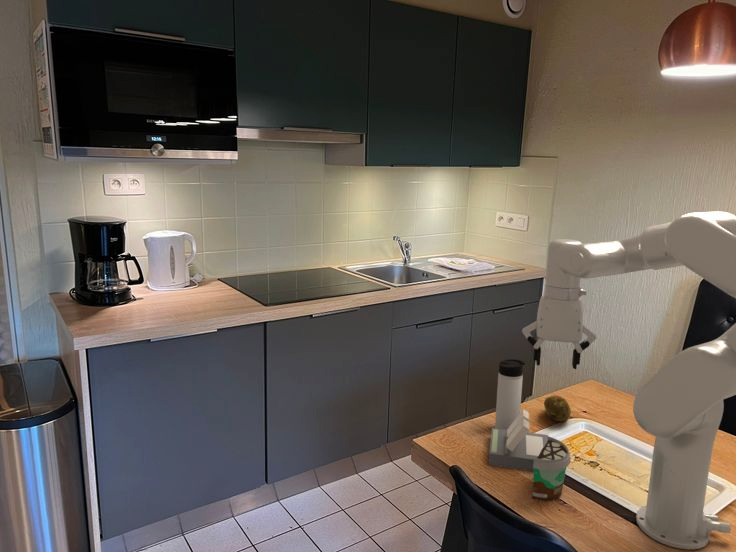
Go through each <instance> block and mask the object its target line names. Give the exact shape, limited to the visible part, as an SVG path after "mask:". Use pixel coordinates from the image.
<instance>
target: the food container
mask: <svg viewBox="0 0 736 552" xmlns="http://www.w3.org/2000/svg"><path fill="white" fill-rule="evenodd" d="M570 453H571V452H570V450H569V447H568V446H567V445H566V444H565V443H564V442H563V441H561V440H559V439H556V438H554V437H551V436H549V435H548V441H547V443H546V445H545V446H544V447H543V448H542V450H541V452H540V454H539V456H538V458H534V464H533V468H534V471H533V474H532V475H533V477H532V496H531V499H533V500H535V501H542V502H551V501H556V500H558V499H559V498H561V496H562V494H563V488H564V483H565V477H566V472H567V467H568V466H569V465H570V464H571V454H570Z"/></svg>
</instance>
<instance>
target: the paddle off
mask: <svg viewBox="0 0 736 552" xmlns="http://www.w3.org/2000/svg"><path fill="white" fill-rule="evenodd" d="M529 431H530V422H529V420H528V421H526V420H525V419H523V420H522V421H521V422H520V424H519V425H518V426H517V428H516V429H515V430H514V431H513V433H512V434H511V435H510V437H509V438H508V439H507V443H506V444H505V454H506V455H508V454H509V450H511V451H513V450H514V449H515V447H516V446H517V445H518V444H519V442H520V441H521V440H522V439H523V437H524V436H525V435H526V434H527V432H528V433H529Z"/></svg>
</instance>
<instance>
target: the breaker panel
mask: <svg viewBox="0 0 736 552" xmlns="http://www.w3.org/2000/svg"><path fill="white" fill-rule="evenodd" d="M506 433H507V430H505V429H497V428H495V427H491V433H490V435H491V436H490V444H489V457H488V466H494V467H500V468H507V469H514V470H521V471H528V472H534V468H533V464H534V458H538V456H539V454H540V452H541V450H542V448H543V447H544V446H545V445H546V443H547V441H548V436H549V434H543V433H535V432H529V431H528V432H527V434H526V435H525V436H524V437H523V439H522V440H521V441H520V442H519V444H518V445H517V446H516V447H515V449H514V450H513V451H511V450H509V454H508V455H506V454H505V444H506V442H505V441H506Z"/></svg>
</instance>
